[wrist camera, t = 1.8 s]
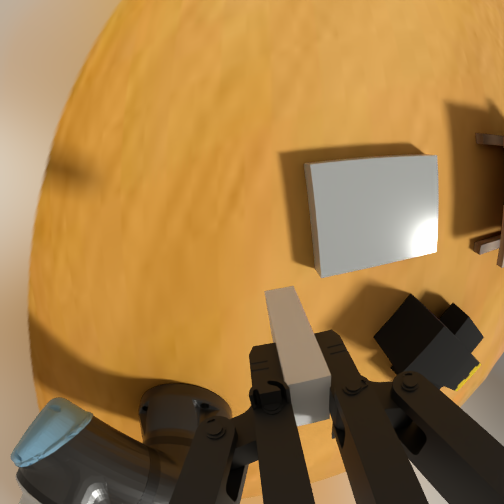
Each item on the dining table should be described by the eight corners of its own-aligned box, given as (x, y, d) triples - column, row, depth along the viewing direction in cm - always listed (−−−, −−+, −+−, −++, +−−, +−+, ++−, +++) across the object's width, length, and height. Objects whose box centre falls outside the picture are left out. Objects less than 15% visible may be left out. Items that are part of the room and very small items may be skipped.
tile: (313, 267, 33) (321, 278, 30) (302, 162, 28) (310, 164, 26) (423, 244, 33) (436, 251, 30) (422, 153, 29) (436, 155, 26)
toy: (446, 412, 40) (378, 397, 30) (428, 386, 48) (353, 355, 38) (498, 356, 36) (463, 305, 26) (475, 333, 44) (424, 273, 34)
